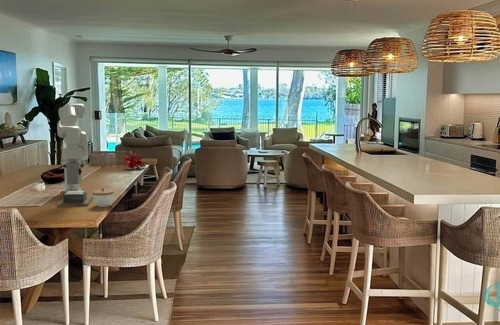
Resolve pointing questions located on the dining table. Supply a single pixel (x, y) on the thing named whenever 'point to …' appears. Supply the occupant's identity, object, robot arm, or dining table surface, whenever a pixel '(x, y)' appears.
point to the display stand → (74, 199)
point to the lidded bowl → (103, 197)
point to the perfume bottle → (73, 172)
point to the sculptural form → (133, 161)
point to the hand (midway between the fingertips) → (74, 174)
